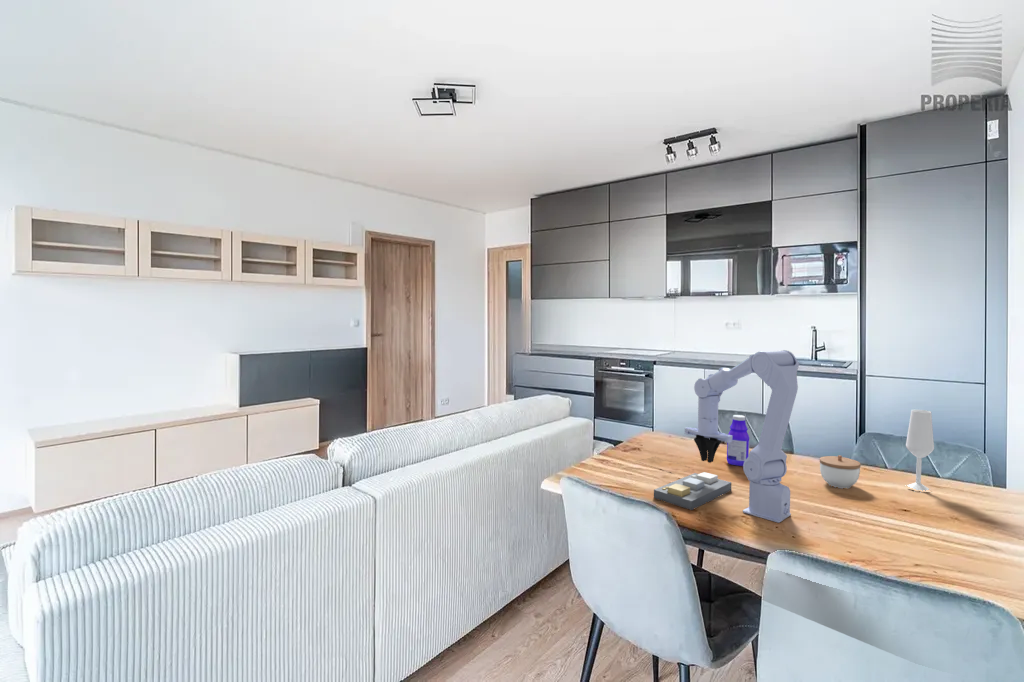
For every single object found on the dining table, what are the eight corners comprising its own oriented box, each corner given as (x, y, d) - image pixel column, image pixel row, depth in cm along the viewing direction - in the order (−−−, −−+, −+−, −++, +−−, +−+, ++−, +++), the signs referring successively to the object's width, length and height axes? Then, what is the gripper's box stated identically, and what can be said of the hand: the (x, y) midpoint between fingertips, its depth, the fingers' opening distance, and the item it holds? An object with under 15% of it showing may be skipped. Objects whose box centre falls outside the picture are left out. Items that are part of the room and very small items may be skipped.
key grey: (704, 487, 151) (704, 481, 151) (696, 491, 148) (696, 484, 148) (690, 483, 154) (690, 477, 154) (682, 487, 152) (682, 480, 151)
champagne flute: (933, 488, 155) (936, 410, 154) (931, 494, 150) (934, 414, 149) (905, 483, 160) (908, 408, 158) (902, 489, 155) (905, 411, 153)
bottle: (750, 463, 181) (751, 415, 180) (747, 467, 176) (748, 418, 175) (728, 460, 185) (729, 413, 184) (725, 464, 180) (726, 416, 179)
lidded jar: (820, 487, 156) (821, 457, 156) (817, 477, 166) (818, 449, 165) (862, 493, 151) (863, 462, 151) (857, 482, 161) (858, 453, 160)
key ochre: (690, 494, 146) (690, 487, 146) (681, 498, 143) (681, 491, 143) (676, 490, 149) (676, 483, 149) (667, 493, 146) (667, 487, 146)
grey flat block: (731, 490, 154) (731, 481, 154) (691, 510, 139) (691, 500, 139) (694, 480, 163) (694, 472, 163) (653, 498, 148) (653, 489, 148)
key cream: (717, 481, 156) (717, 475, 156) (710, 485, 153) (710, 478, 153) (703, 478, 160) (703, 472, 160) (696, 481, 157) (696, 475, 157)
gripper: (737, 419, 152) (736, 463, 153) (693, 412, 163) (692, 453, 164) (726, 422, 148) (725, 468, 149) (681, 415, 159) (680, 457, 160)
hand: (707, 461), depth 156 cm, fingers closed
